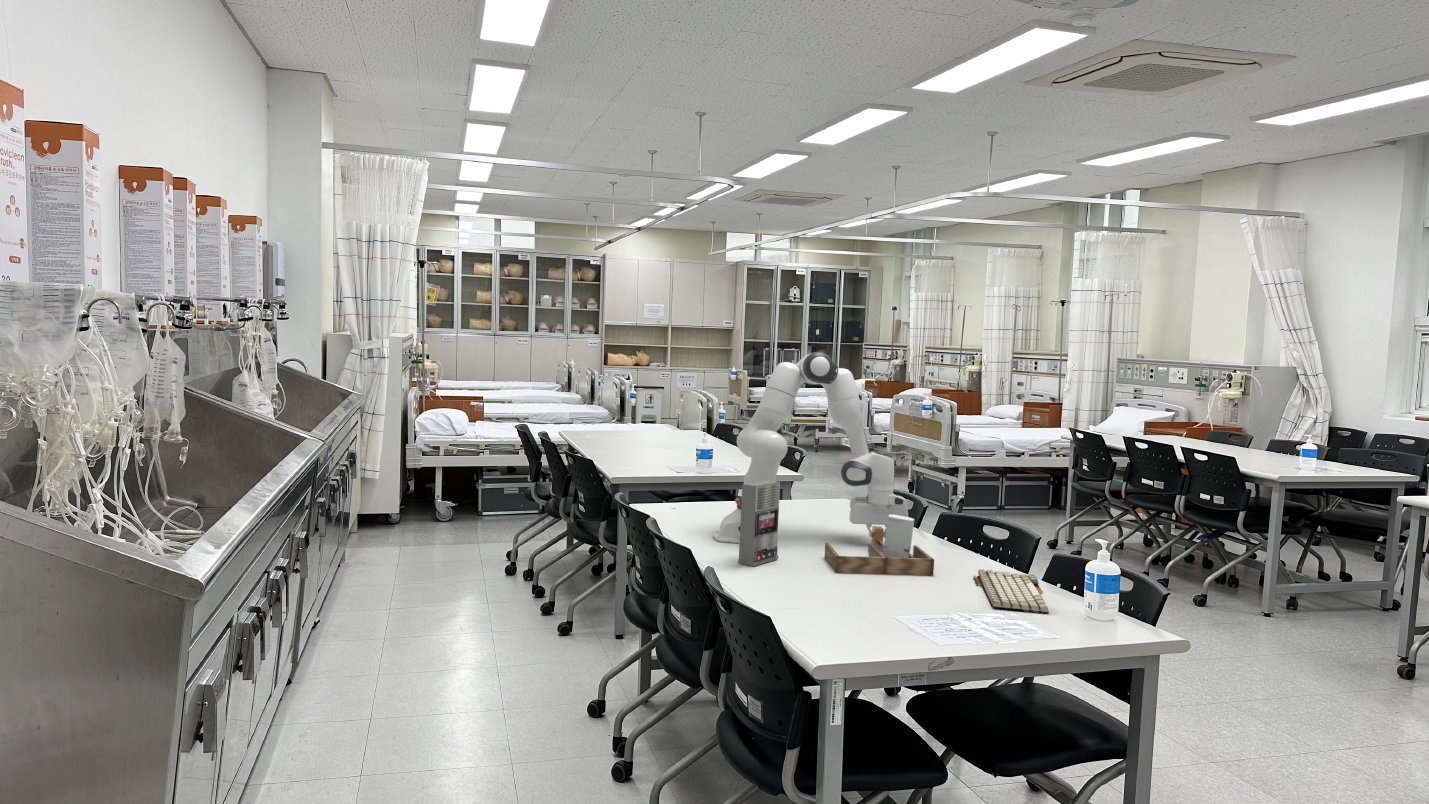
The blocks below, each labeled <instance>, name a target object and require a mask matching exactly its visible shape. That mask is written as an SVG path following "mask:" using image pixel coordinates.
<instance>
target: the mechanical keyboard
mask: <svg viewBox="0 0 1429 804" xmlns="http://www.w3.org/2000/svg"><path fill="white" fill-rule="evenodd" d="M977 574H978V575H977V576H976V575H974V576H972V580H973V582H974V584H975V586H976V587H980V588H981V589H982V591H983V593H984V595H985V597H986V599H987V601H988V603H989V605H990V607H991V609H993V610H999V611H1005V612H1016V613H1026V614H1027V613H1028V614H1029V613H1033V614H1047V613H1048V614H1049V613H1050V611H1049V607H1048V605H1047V604H1046V602H1045V600H1044V598H1043V597H1042V594H1043V595H1044V592H1043V590H1042V589H1041V587H1040V585H1039V584H1040V583H1039V580H1038V578H1037V576H1036V575H1035V573H1029V574H1026V573H1019V572H1012V573H1011V574H1010V572H1008V571H998V570H997V571H993V569H986V570H985V569H983V568H979V569H978V571H977Z"/></svg>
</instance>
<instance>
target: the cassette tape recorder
mask: <svg viewBox="0 0 1429 804" xmlns="http://www.w3.org/2000/svg"><path fill="white" fill-rule="evenodd" d="M780 492H781V482H780V481H777V480H776V481H770V480H764V481H758V482H752V483H746V484H744V483H742V484H741V498H742V502H741V523H740V543H738V544H739V546H738V547H739V548H738V560H737V563H738V564H740V565H746V566H750V567H753V568H754V567H756V566H760V565H762V564H767V563H770V562H772V561H776V560H779V555H778V533H779V532H778V531H779V514H780V494H781V493H780Z"/></svg>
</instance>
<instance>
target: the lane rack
mask: <svg viewBox="0 0 1429 804" xmlns="http://www.w3.org/2000/svg"><path fill="white" fill-rule="evenodd" d="M912 548H913V549H912V555H913V556H914V557H915V558H893V557H886V556H885V555H883V553H882V552H880V551H879V550H878V549H877V548H876V547H875V546H874V545H873V544H872V543H869V552H868V556H859V555H858V556H857V555H856V556H855V555H839V554H838V553H837V552H836V550H835V549H834V548H833V546H831V544H830V543H829V542H825V543H824V556H823V557H824V560H825V561H827V563H828V565H829V566H830V567H831V568H832V570H833V571H834V572H835V574H836V573H837V574H865V575H869V574H870V575H896V576H897V575H899V576H900V575H901V576H903V575H905V576H934V572H935V571H934V570H935V559H934V558H933V557H932V556H930V554H928V553H927V552H926V551H924V550H923V549H921V547H919V546H918V545H915V544H914V545H913V547H912Z"/></svg>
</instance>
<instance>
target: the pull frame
mask: <svg viewBox="0 0 1429 804" xmlns="http://www.w3.org/2000/svg"><path fill="white" fill-rule="evenodd" d="M871 528H872V529H871V531H873V532H874V537H871V543H870V544H873V545H874V546H875V547H876V548H877V549H878V550H879V551H880V552H881V553H882V554H883V549H884V537H883V532H884V530H885V529H884V528H883V527H882V525H875V526H873V525H872V526H871ZM867 552H868V553H869V545H868V546H867ZM909 558H915V557H914V556H913V553H910V555H909Z"/></svg>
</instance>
